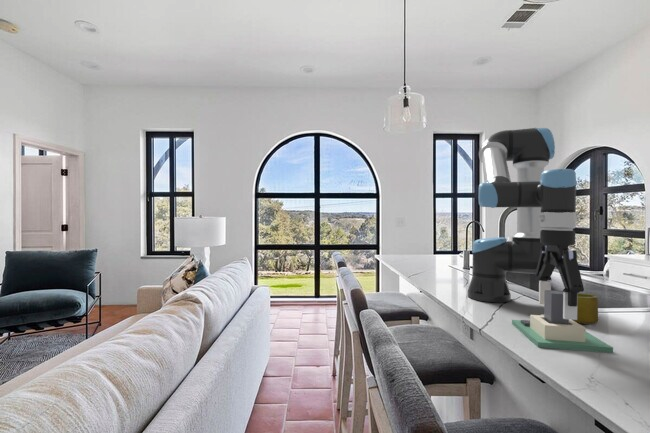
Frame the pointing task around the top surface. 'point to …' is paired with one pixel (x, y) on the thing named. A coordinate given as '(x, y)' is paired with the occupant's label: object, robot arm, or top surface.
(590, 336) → the board
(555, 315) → the plug
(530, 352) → the top surface
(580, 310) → the mug
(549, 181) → the robot arm
